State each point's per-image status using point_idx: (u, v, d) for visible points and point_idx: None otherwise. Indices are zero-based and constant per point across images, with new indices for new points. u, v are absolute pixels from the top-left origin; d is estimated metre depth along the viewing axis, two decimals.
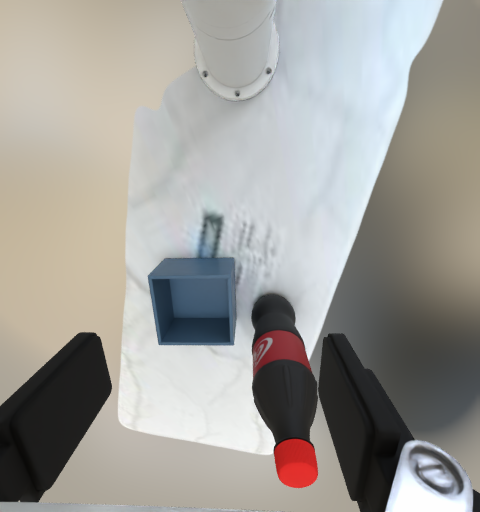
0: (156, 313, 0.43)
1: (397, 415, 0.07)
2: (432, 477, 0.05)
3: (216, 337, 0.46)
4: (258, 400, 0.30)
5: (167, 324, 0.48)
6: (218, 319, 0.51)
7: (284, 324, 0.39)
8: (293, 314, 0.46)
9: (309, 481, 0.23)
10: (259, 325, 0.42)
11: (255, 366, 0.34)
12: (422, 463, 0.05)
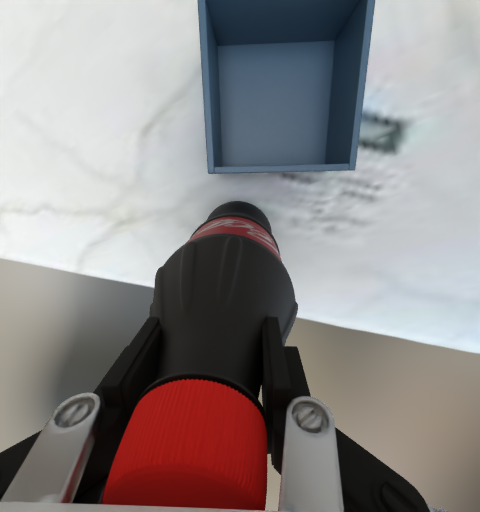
0: None
1: (304, 380, 0.08)
2: (309, 423, 0.06)
3: (214, 138, 0.24)
4: (233, 263, 0.11)
5: (224, 24, 0.23)
6: (221, 141, 0.29)
7: None
8: None
9: None
10: None
11: (250, 234, 0.16)
12: (301, 415, 0.07)
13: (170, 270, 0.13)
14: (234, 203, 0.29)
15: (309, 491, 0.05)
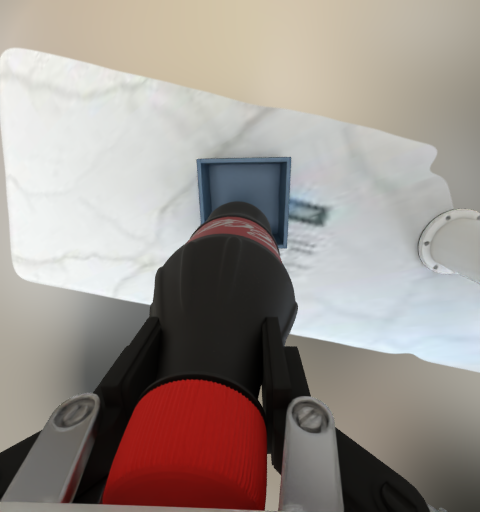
0: (241, 161, 0.36)
1: (304, 380, 0.08)
2: (309, 423, 0.06)
3: None
4: (233, 263, 0.11)
5: None
6: None
7: None
8: None
9: None
10: None
11: (250, 234, 0.16)
12: (301, 415, 0.07)
13: (170, 270, 0.13)
14: (234, 203, 0.29)
15: (309, 491, 0.05)
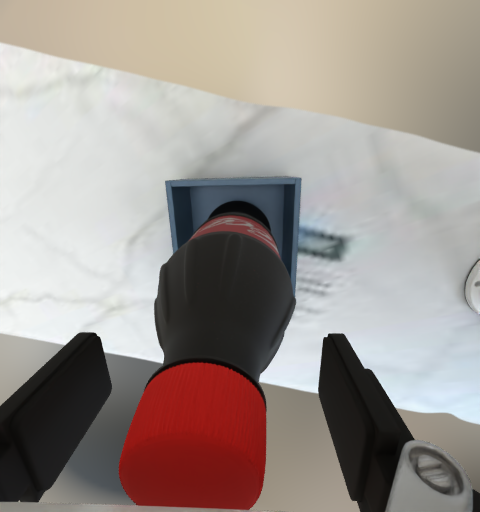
0: (230, 184, 0.25)
1: (396, 414, 0.07)
2: (432, 477, 0.05)
3: None
4: (234, 259, 0.12)
5: None
6: None
7: None
8: None
9: None
10: None
11: (250, 231, 0.16)
12: (422, 463, 0.05)
13: (174, 266, 0.13)
14: (234, 202, 0.29)
15: None
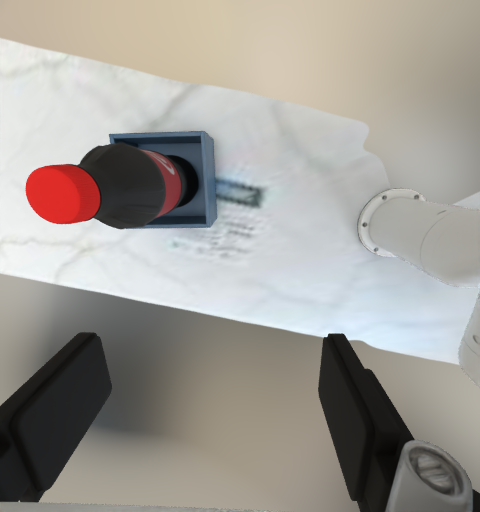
0: (154, 136, 0.35)
1: (397, 414, 0.07)
2: (432, 477, 0.05)
3: None
4: (112, 149, 0.22)
5: (133, 141, 0.39)
6: None
7: (184, 191, 0.34)
8: (181, 204, 0.41)
9: (47, 213, 0.17)
10: None
11: (142, 150, 0.26)
12: (422, 463, 0.05)
13: None
14: (166, 155, 0.39)
15: None
